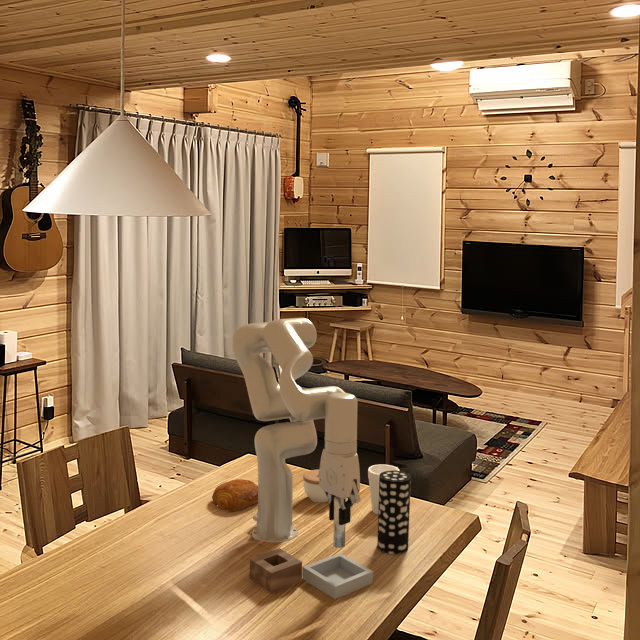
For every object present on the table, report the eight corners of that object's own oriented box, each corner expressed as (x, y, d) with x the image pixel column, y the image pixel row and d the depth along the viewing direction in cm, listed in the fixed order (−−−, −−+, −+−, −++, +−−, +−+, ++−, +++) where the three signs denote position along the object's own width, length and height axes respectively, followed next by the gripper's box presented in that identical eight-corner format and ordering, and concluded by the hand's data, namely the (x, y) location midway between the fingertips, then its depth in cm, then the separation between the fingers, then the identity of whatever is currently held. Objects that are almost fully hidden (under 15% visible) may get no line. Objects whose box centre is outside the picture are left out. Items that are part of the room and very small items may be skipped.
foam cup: (377, 519, 211) (378, 477, 209) (361, 508, 219) (362, 467, 217) (404, 513, 215) (405, 472, 213) (387, 502, 223) (388, 462, 221)
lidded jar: (299, 493, 229) (300, 465, 228) (331, 491, 232) (332, 463, 231) (306, 506, 219) (307, 477, 218) (340, 504, 222) (341, 474, 220)
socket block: (249, 582, 173) (249, 558, 172) (279, 571, 179) (279, 548, 178) (271, 597, 166) (271, 573, 165) (301, 585, 172) (302, 561, 171)
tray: (302, 582, 173) (302, 566, 173) (339, 567, 181) (340, 552, 180) (334, 603, 164) (335, 586, 163) (372, 586, 172) (373, 571, 171)
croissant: (269, 508, 223) (272, 483, 222) (231, 516, 211) (234, 490, 211) (238, 495, 232) (241, 471, 232) (200, 502, 220) (203, 476, 220)
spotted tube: (406, 555, 188) (409, 482, 185) (375, 552, 190) (377, 480, 187) (409, 542, 196) (412, 472, 193) (379, 538, 198) (381, 469, 195)
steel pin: (330, 544, 171) (331, 496, 169) (339, 541, 173) (340, 493, 171) (338, 549, 169) (339, 500, 167) (347, 545, 170) (348, 497, 169)
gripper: (306, 440, 171) (306, 514, 174) (352, 457, 159) (350, 536, 161) (330, 435, 176) (329, 507, 178) (376, 451, 164) (374, 528, 166)
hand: (339, 520), depth 170 cm, fingers closed on steel pin, 2 cm apart
